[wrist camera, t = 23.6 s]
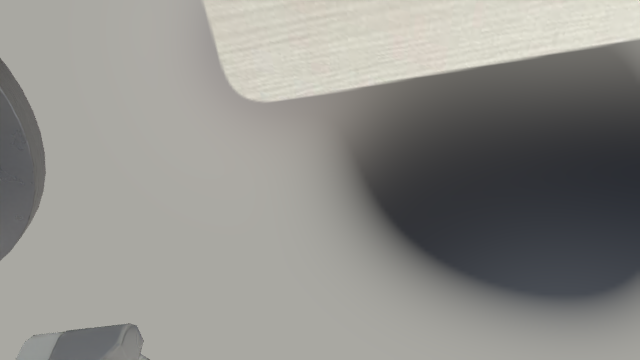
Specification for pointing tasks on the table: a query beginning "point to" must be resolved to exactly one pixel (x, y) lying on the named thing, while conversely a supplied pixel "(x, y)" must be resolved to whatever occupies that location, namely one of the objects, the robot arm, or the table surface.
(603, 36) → the table surface
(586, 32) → the table surface
